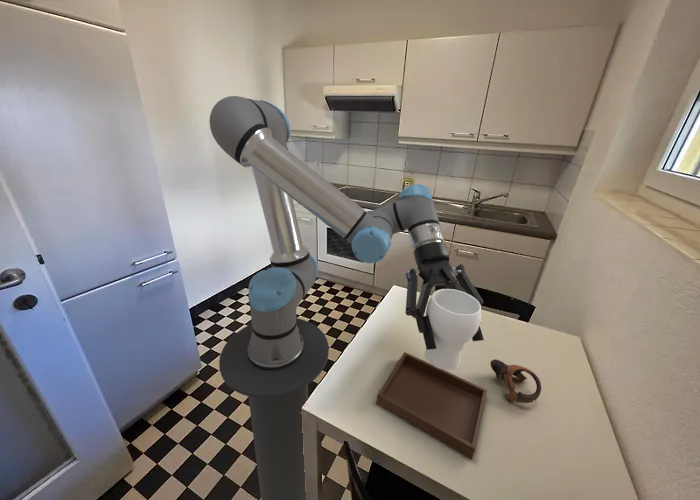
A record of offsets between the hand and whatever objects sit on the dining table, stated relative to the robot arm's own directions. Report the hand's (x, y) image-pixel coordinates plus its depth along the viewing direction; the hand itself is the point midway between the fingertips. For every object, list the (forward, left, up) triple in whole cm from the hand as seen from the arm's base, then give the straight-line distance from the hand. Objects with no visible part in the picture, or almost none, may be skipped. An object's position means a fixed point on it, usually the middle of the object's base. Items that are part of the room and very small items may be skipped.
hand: (455, 344), depth 58 cm
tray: (-2, +1, -20) cm, 20 cm away
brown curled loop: (+14, +17, -20) cm, 30 cm away
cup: (-2, +2, -6) cm, 7 cm away
